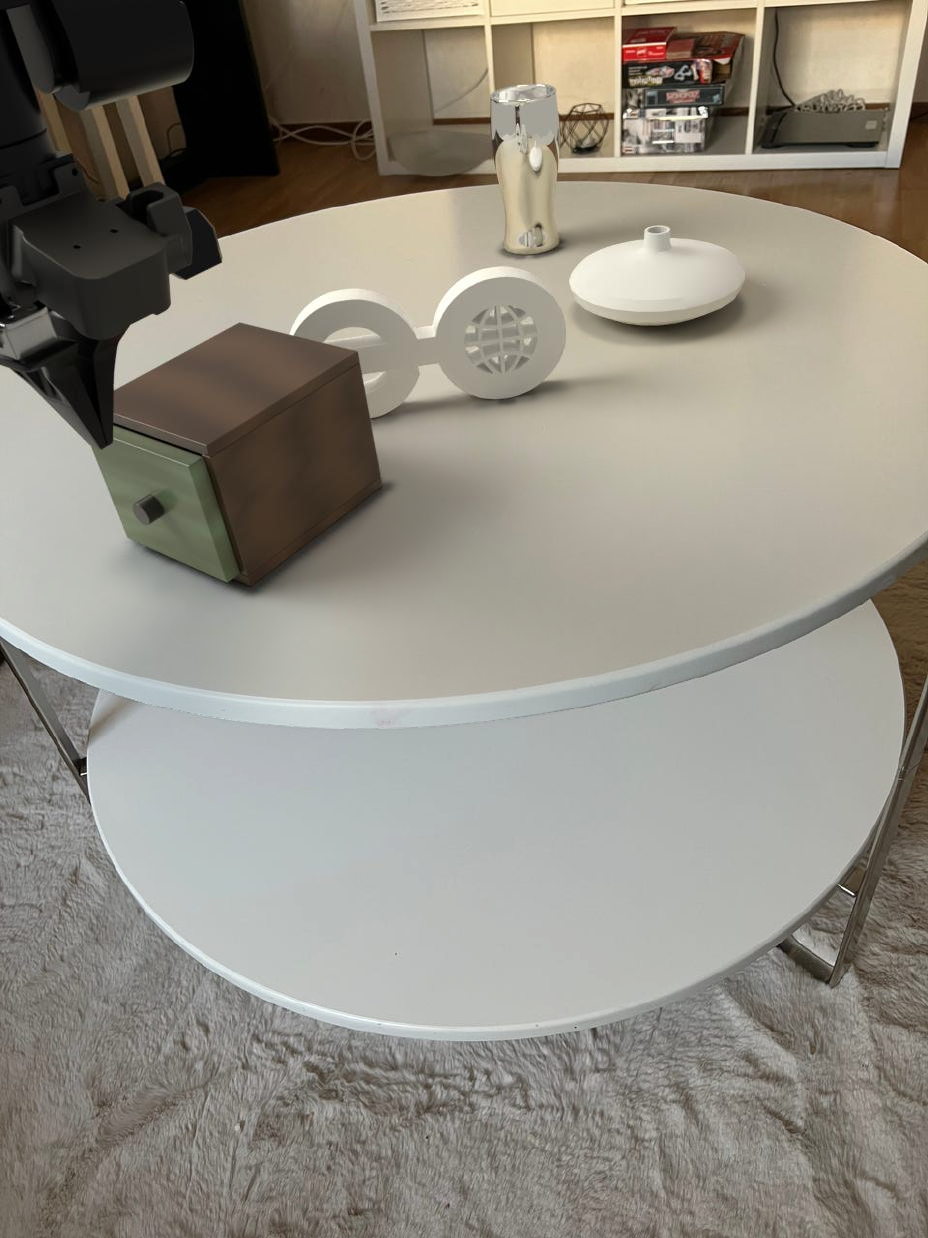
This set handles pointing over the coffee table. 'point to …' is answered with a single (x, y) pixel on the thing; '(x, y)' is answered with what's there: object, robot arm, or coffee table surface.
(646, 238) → the vase
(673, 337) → the coffee table surface
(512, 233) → the beer glass
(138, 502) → the drawer
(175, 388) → the cabinet
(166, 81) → the robot arm
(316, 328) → the white flat cutout piece
